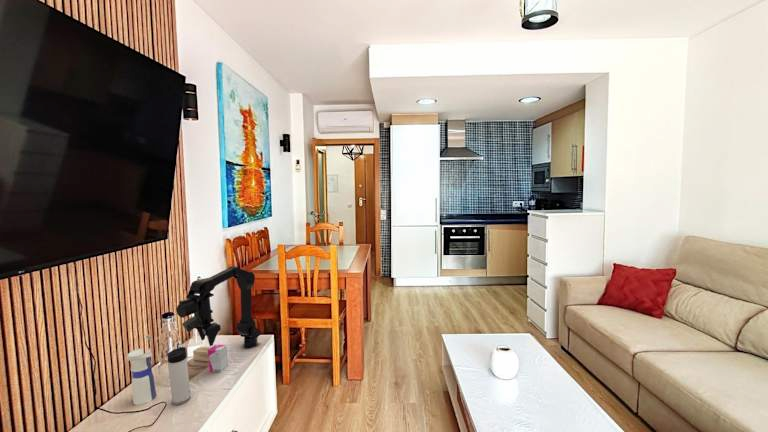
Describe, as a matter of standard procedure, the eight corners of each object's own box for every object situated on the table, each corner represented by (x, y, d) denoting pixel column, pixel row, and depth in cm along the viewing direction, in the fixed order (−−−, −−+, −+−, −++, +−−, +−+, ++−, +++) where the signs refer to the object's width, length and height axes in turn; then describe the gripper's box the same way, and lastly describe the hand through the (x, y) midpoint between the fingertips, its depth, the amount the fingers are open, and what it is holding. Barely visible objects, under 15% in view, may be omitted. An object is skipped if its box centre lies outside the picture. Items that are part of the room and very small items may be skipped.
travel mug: (195, 396, 138) (190, 347, 136) (180, 406, 132) (175, 355, 130) (183, 393, 140) (178, 345, 138) (168, 403, 134) (163, 353, 132)
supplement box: (229, 368, 158) (227, 344, 157) (221, 375, 153) (219, 350, 152) (217, 368, 159) (214, 344, 158) (209, 375, 153) (207, 350, 152)
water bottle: (140, 393, 142) (133, 333, 139) (161, 391, 142) (155, 332, 140) (126, 405, 134) (119, 343, 131) (149, 404, 134) (142, 341, 132)
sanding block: (202, 355, 168) (201, 345, 168) (216, 357, 166) (215, 347, 166) (194, 361, 163) (193, 350, 163) (208, 362, 161) (207, 352, 161)
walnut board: (201, 355, 172) (200, 352, 171) (225, 358, 168) (225, 355, 168) (162, 380, 150) (162, 377, 150) (189, 383, 147) (189, 380, 147)
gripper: (175, 310, 153) (179, 343, 155) (191, 320, 140) (195, 356, 142) (202, 302, 161) (206, 334, 163) (219, 311, 149) (223, 346, 150)
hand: (207, 342), depth 154 cm, fingers open, 9 cm apart
